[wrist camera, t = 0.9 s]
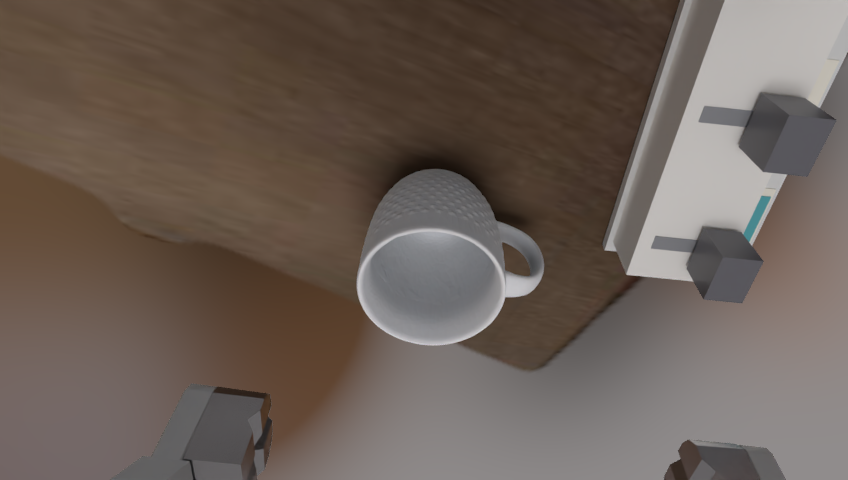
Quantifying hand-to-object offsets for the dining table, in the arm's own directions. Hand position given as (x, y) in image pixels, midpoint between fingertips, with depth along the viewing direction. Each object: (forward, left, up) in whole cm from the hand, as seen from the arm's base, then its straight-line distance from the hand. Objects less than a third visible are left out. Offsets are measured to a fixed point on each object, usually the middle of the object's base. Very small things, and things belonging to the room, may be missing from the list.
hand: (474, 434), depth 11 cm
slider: (+15, +22, -32) cm, 42 cm away
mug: (+17, +1, -39) cm, 42 cm away
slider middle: (+4, +22, -32) cm, 39 cm away
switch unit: (+4, +22, -39) cm, 45 cm away
